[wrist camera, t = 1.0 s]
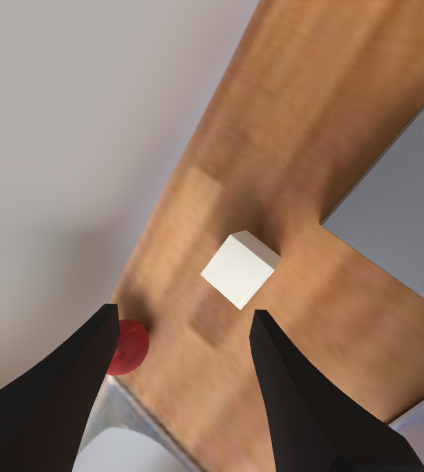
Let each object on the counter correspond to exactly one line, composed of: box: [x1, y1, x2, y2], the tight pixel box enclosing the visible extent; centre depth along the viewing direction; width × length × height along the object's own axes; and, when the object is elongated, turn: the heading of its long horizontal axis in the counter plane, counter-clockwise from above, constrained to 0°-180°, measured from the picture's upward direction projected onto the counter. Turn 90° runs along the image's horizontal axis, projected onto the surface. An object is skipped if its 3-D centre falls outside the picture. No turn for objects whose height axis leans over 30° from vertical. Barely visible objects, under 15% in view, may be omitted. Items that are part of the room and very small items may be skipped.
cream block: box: [201, 230, 281, 310], centre depth 22 cm, size 4×4×6 cm
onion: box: [106, 319, 149, 375], centre depth 27 cm, size 6×6×8 cm
